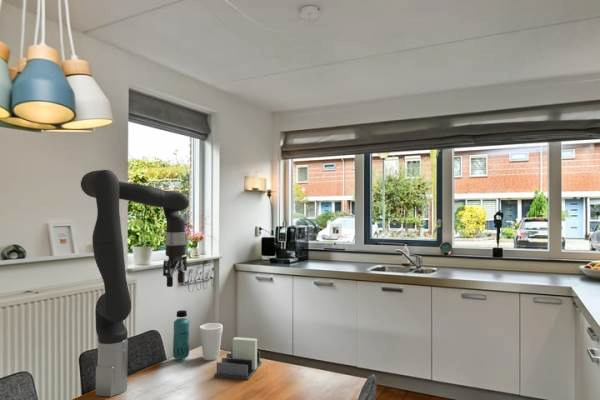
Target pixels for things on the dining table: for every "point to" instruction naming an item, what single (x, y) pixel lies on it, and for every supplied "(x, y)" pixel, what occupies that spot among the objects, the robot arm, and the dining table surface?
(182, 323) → the beverage bottle
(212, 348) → the foam cup
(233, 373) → the rack
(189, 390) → the dining table surface
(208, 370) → the dining table surface
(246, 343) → the tile
